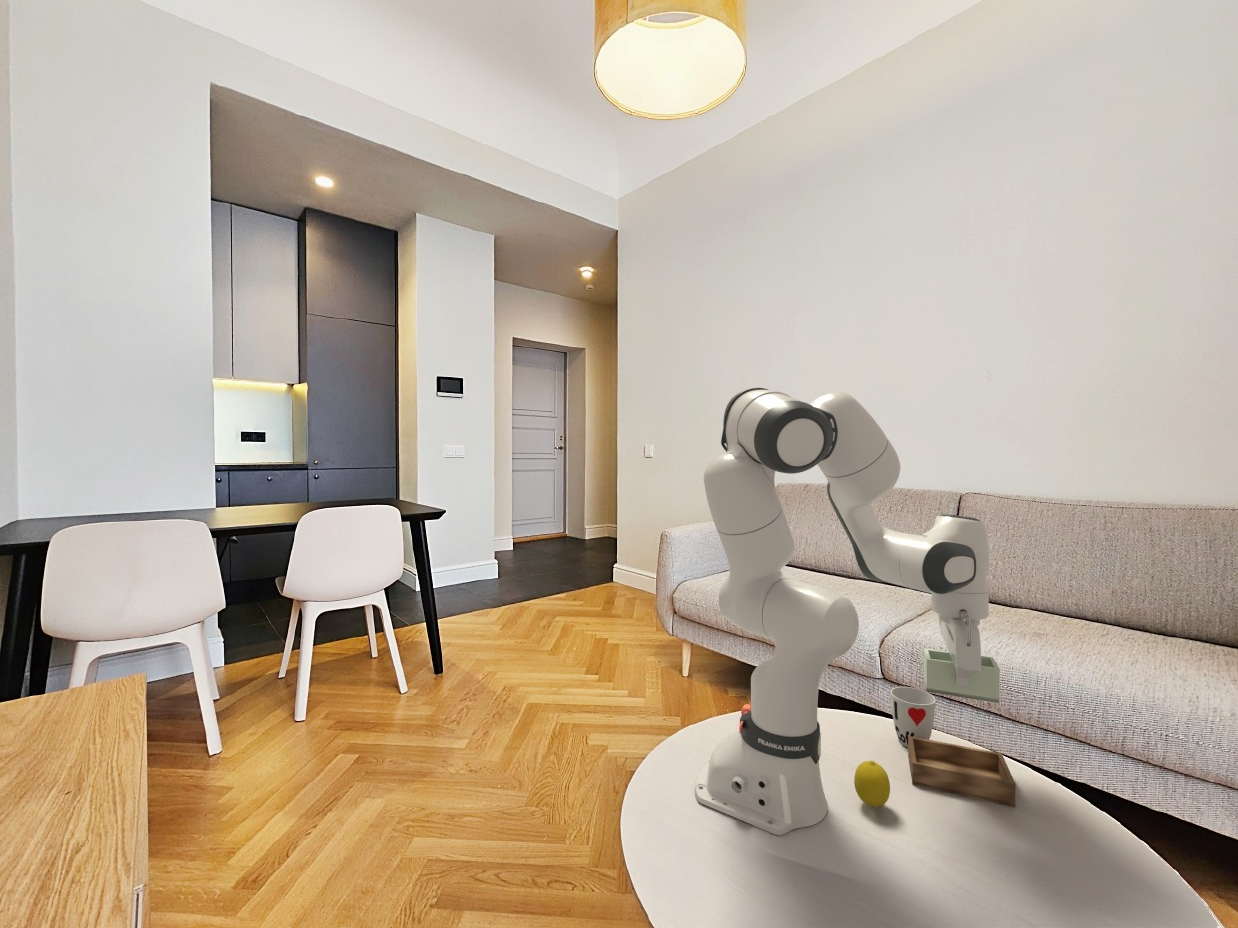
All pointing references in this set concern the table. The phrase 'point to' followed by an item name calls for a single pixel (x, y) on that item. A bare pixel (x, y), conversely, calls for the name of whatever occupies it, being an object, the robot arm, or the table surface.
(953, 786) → the walnut crate
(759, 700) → the robot arm
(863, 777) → the lemon
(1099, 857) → the table surface
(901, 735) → the cup
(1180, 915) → the table surface
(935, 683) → the sage crate
